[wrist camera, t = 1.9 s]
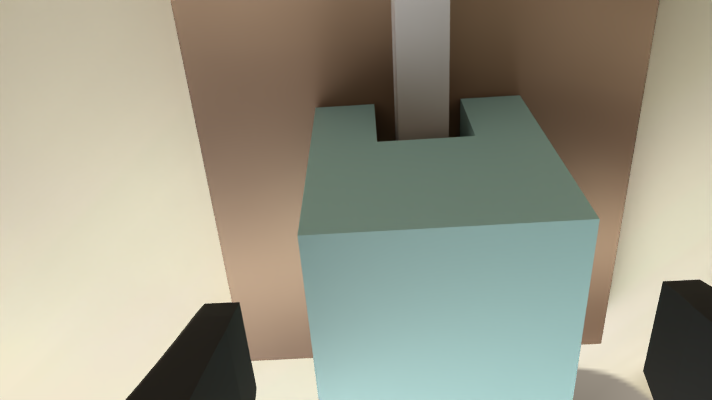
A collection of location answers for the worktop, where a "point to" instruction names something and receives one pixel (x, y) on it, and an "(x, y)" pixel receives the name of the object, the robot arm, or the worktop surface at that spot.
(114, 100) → the worktop surface
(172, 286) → the worktop surface
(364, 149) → the block
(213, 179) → the track
